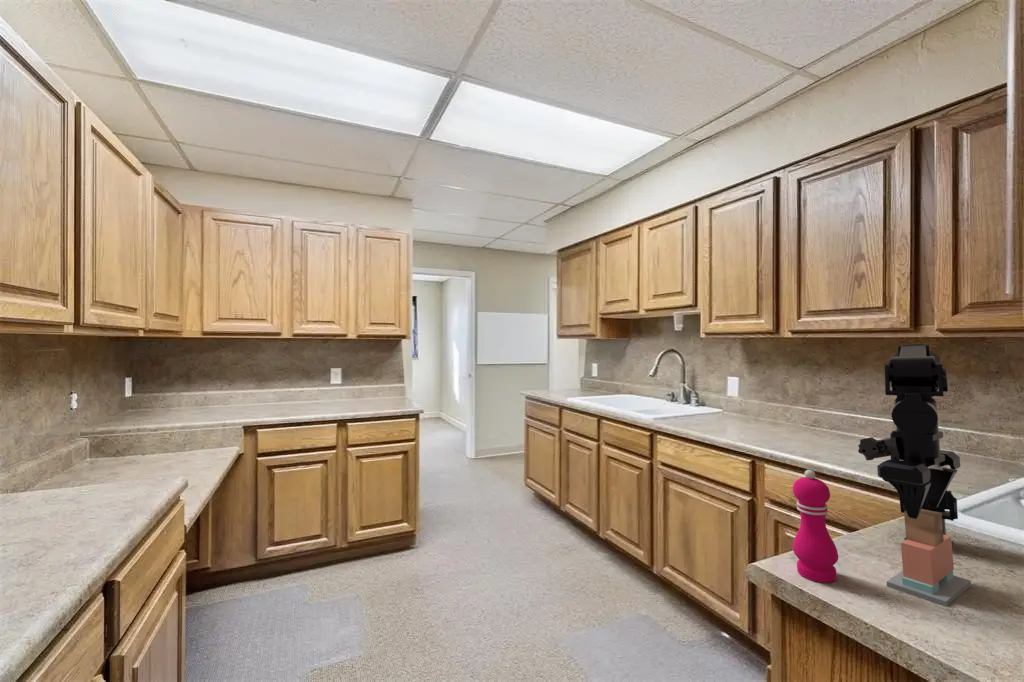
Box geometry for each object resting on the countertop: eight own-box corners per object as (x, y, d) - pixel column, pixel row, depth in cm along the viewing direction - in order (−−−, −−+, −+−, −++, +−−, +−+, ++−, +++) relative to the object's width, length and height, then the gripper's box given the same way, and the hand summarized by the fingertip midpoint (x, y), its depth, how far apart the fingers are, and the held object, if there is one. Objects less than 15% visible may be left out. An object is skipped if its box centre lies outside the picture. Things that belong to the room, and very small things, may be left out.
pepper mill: (796, 579, 84) (789, 473, 84) (792, 563, 90) (786, 464, 91) (843, 587, 80) (835, 476, 81) (836, 569, 87) (828, 466, 87)
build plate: (913, 567, 86) (912, 557, 86) (971, 585, 79) (970, 573, 79) (886, 586, 80) (886, 574, 80) (946, 606, 73) (945, 594, 73)
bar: (925, 561, 84) (922, 529, 85) (953, 569, 81) (951, 536, 81) (903, 576, 79) (900, 542, 80) (932, 586, 76) (930, 550, 76)
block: (914, 534, 83) (912, 507, 83) (943, 541, 79) (941, 513, 80) (906, 539, 81) (904, 511, 81) (935, 547, 77) (933, 518, 78)
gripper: (884, 416, 92) (890, 491, 92) (841, 426, 83) (846, 511, 82) (958, 422, 83) (964, 506, 82) (918, 434, 73) (925, 530, 73)
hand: (923, 512), depth 80 cm, fingers open, 9 cm apart
